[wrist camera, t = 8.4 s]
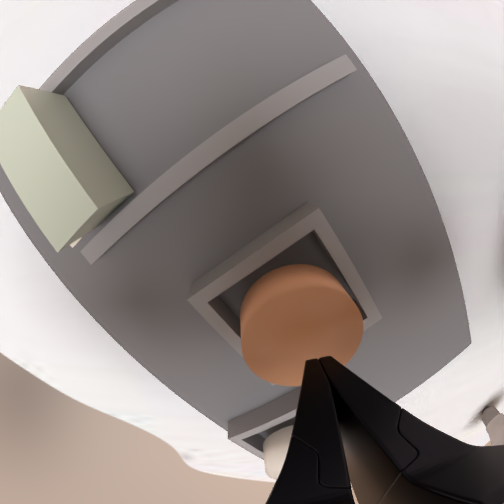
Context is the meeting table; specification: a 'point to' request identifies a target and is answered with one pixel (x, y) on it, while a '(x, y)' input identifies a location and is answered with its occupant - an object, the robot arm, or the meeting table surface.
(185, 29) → the control board
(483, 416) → the lightbulb
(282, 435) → the offwhite button
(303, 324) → the terracotta button
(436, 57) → the meeting table surface
